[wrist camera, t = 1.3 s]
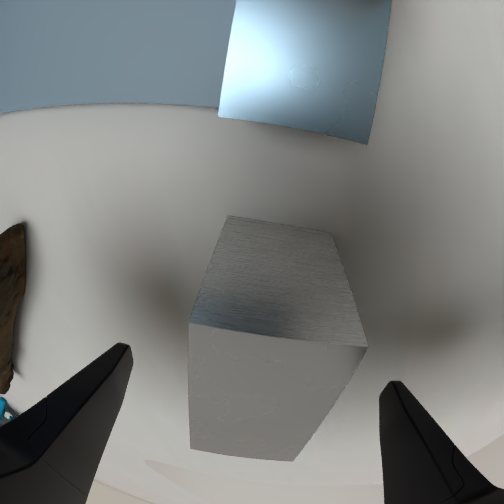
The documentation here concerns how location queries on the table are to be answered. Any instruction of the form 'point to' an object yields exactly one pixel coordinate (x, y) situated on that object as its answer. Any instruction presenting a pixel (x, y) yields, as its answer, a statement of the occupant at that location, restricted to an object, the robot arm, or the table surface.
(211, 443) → the steel block
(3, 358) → the brown wooden stick
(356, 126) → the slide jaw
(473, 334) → the table surface
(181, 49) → the vise
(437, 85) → the table surface
